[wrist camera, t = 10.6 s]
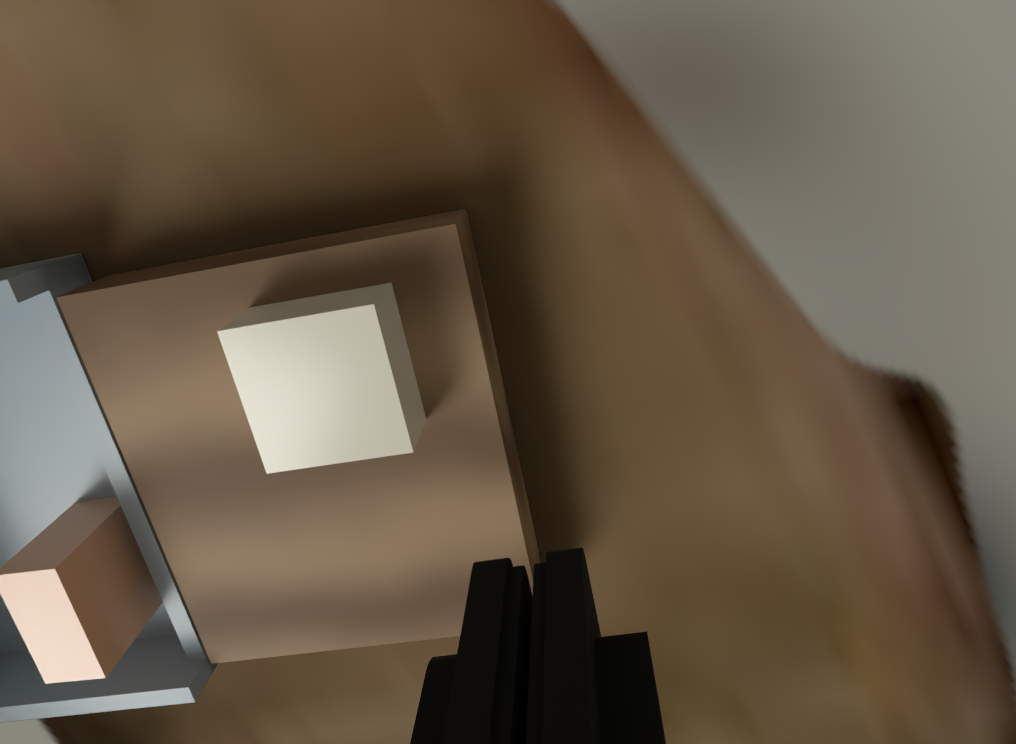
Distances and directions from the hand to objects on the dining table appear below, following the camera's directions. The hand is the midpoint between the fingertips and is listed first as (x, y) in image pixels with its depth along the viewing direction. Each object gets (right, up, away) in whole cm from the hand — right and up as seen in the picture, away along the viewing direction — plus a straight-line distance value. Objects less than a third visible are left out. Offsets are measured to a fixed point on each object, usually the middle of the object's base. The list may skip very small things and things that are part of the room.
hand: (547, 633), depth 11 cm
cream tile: (-6, +4, +14) cm, 16 cm away
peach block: (-16, -4, +18) cm, 25 cm away
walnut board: (-7, +1, +19) cm, 20 cm away
